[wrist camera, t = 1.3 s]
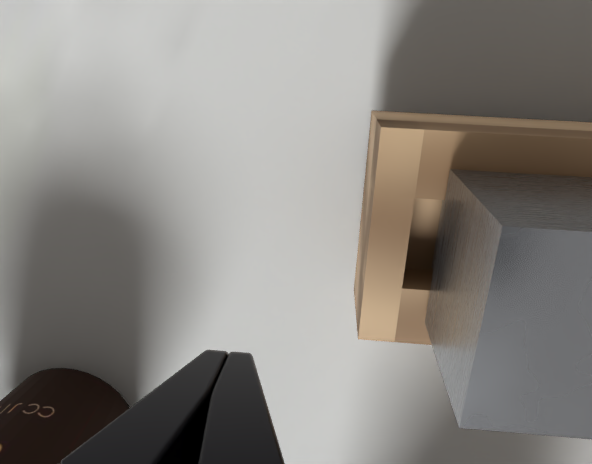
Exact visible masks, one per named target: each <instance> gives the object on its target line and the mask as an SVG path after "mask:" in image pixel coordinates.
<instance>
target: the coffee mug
mask: <svg viewBox="0 0 592 464" xmlns="http://www.w3.org/2000/svg"><path fill="white" fill-rule="evenodd" d="M128 409H129V406H128V404H127V403H126V401H125V400H124V399H123V398H122V396H121V395H120V394H119V393H118V392H117V391H116V390H115V389H114V388H112V387H111V386H110V385H109V384H107V383H106V382H104V381H103V380H101V379H99V378H97V377H95V376H93V375H91V374H88V373H85V372H82V371H78V370H74V369H66V368H55V369H48V370H43V371H40V372H37V373H35V374H33V375H31V376H30V377H28V378H27V379H26V380H25V381H23V382H22V383H21V384H20V385H19V386H17V387H16V388H15V389H14V390H13V391H12V392H10V393H9V394H8V395H7V396H6V397H5V398H3V399H2V400H1V401H0V464H61V461H62V459H64V458H65V457H66V456H68V455H69V454H70V453H72V452H73V451H74V450H76V449H77V448H78V447H80V446H81V445H82V444H83V443H85V442H86V441H87V440H89V439H90V438H91V437H93V436H94V435H95V434H97V433H98V432H99V431H101V430H102V429H103V428H104V427H106V426H107V425H108V424H110V423H111V422H112V421H114V420H115V419H116V418H118V417H119V416H120V415H122V414H123V413H124V412H125V411H127V410H128Z"/></svg>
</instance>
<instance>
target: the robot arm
mask: <svg viewBox="0 0 592 464" xmlns="http://www.w3.org/2000/svg"><path fill="white" fill-rule="evenodd" d="M61 464H285V463H284V460H283V457H282V453H281V450H280V447H279V443H278V440H277V436H276V433H275V430H274V426H273V423H272V420H271V416H270V413H269V410H268V406H267V403H266V400H265V396H264V393H263V390H262V386H261V383H260V380H259V376H258V373H257V370H256V366H255V363H254V360H253V356H252V355H251V354H250V353H243V352H231V353H229V354H228V352H226V351H218V350H206V351H204V352H203V353H202V354H200V355H199V356H198V357H196V358H195V359H194V360H192V361H191V362H190V363H188V364H187V365H186V366H184V367H183V368H182V369H181V370H179V371H178V372H177V373H175V374H174V375H173V376H171V377H170V378H169V379H167V380H166V381H165V382H163V383H162V384H161V385H160V386H158V387H157V388H156V389H154V390H153V391H152V392H150V393H149V394H148V395H146V396H145V397H144V398H142V399H141V400H140V401H139V402H137V403H136V404H135V405H133V406H132V407H131V408H129V409H128V410H127V411H125V412H124V413H123V414H122V415H120V416H119V417H118V418H116V419H115V420H114V421H112V422H111V423H110V424H108V425H107V426H106V427H104V428H103V429H102V430H101V431H99V432H98V433H97V434H95V435H94V436H93V437H91V438H90V439H89V440H87V441H86V442H85V443H83V444H82V445H81V446H80V447H78V448H77V449H76V450H74V451H73V452H72V453H70V454H69V455H68V456H66V457H65V458H64V459H62V461H61Z"/></svg>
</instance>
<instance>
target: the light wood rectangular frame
mask: <svg viewBox="0 0 592 464" xmlns="http://www.w3.org/2000/svg"><path fill="white" fill-rule="evenodd" d="M450 169H457V170H474V171H491V172H507V173H524V174H541V175H558V176H575V177H592V122H574V121H555V120H537V119H518V118H500V117H481V116H463V115H444V114H426V113H407V112H389V111H372V112H371V123H370V133H369V143H368V153H367V163H366V173H365V183H364V193H363V203H362V213H361V223H360V233H359V243H358V253H357V263H356V273H355V283H354V296H355V308H356V319H357V331H358V339H363V340H376V341H389V342H402V343H414V344H427V345H432V344H431V341H430V338H429V335H428V331H427V328H426V325H425V318H426V312H427V306H428V300H429V294H430V288H431V281H432V275H433V269H432V261H433V255H434V249H435V243H436V237H437V231H438V224H439V218H440V212H441V206H442V200H445V197H446V191H447V185H448V179H449V173H450Z"/></svg>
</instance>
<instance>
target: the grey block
mask: <svg viewBox="0 0 592 464" xmlns="http://www.w3.org/2000/svg"><path fill="white" fill-rule="evenodd" d="M432 269H433V275H432V281H431V288H430V294H429V300H428V306H427V312H426V318H425V325H426V328H427V331H428V335H429V338H430V341H431V344H432V347H433V350H434V353H435V356H436V359H437V362H438V365H439V368H440V371H441V374H442V377H443V380H444V384H445V387H446V390H447V393H448V396H449V399H450V402H451V405H452V408H453V411H454V414H455V417H456V420H457V423H458V426H459V428H466V429H478V430H490V431H501V432H513V433H525V434H536V435H548V436H560V437H571V438H583V439H592V177H575V176H558V175H541V174H524V173H507V172H491V171H474V170H457V169H450V173H449V179H448V185H447V191H446V197H445V200H442V206H441V212H440V218H439V224H438V231H437V237H436V243H435V249H434V255H433V261H432Z"/></svg>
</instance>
